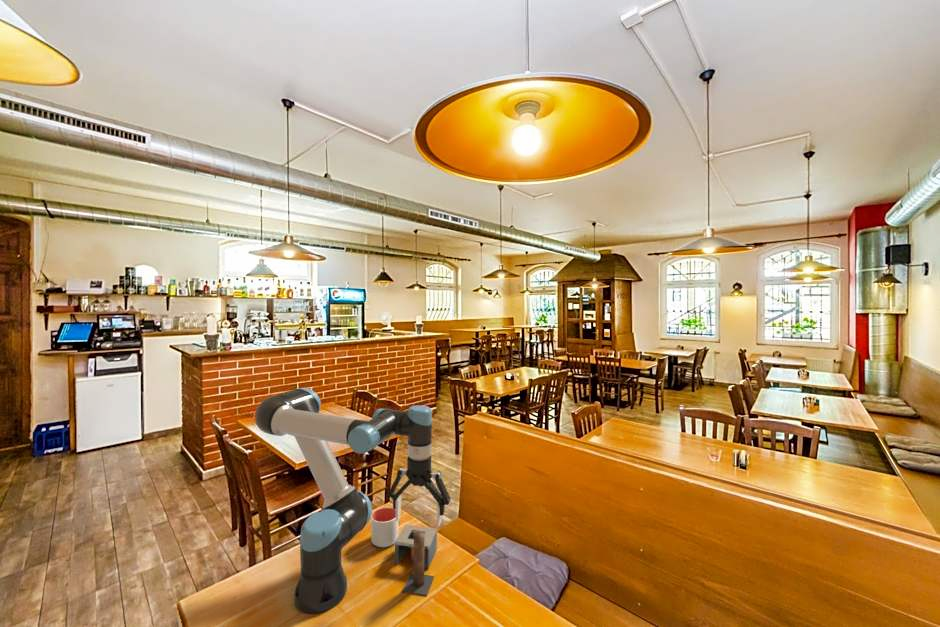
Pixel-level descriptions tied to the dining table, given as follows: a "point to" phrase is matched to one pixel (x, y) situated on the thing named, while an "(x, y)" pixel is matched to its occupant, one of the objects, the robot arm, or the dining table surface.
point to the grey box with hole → (407, 541)
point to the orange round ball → (412, 553)
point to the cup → (384, 527)
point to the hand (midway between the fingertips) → (418, 521)
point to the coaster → (418, 590)
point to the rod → (418, 559)
